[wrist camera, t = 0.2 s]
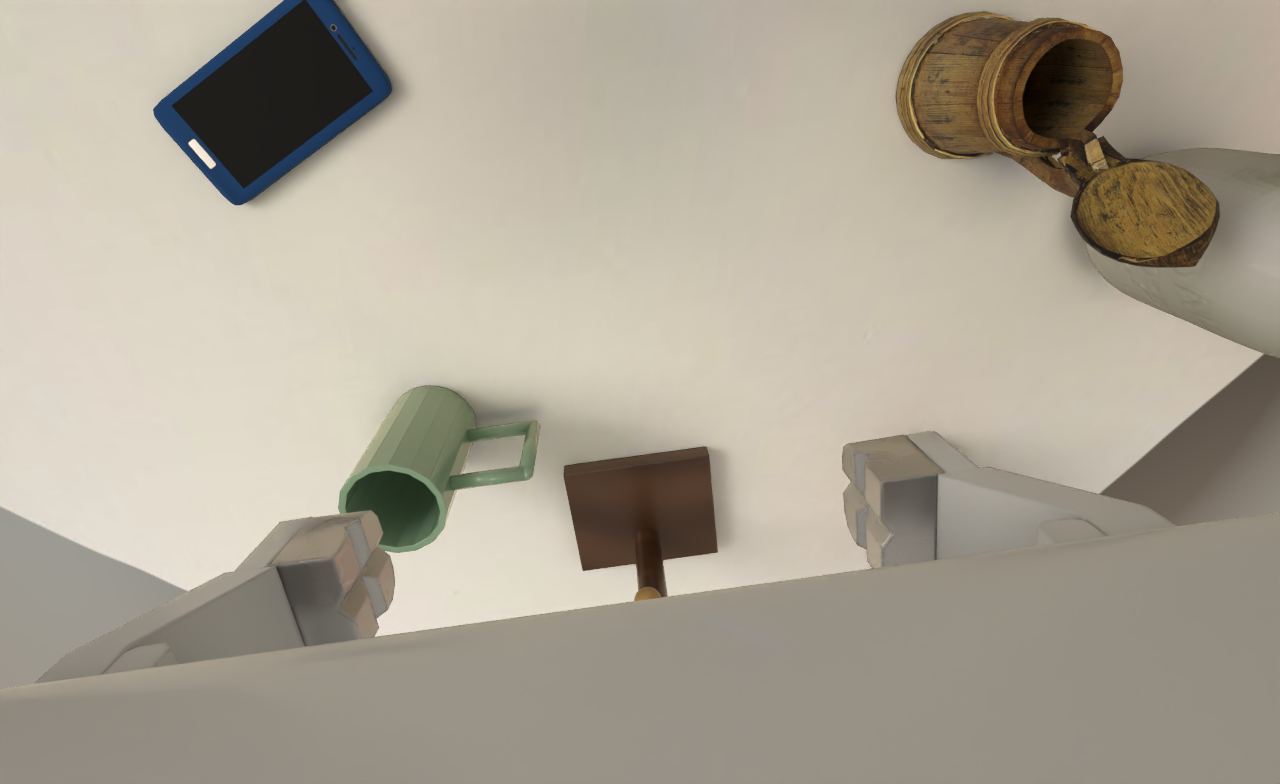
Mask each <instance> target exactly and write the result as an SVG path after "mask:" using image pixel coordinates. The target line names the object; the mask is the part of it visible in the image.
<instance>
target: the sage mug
mask: <svg viewBox="0 0 1280 784" xmlns="http://www.w3.org/2000/svg"><path fill="white" fill-rule="evenodd" d="M540 428H541V426H540V423H539V422H538V421H526V422H519V423H511V424H504V425H497V426H489V427H482V428H476V419H475V416H474V413H473V411H472V409H471V408H470V406H469V405H468V403H467V402H466V401H465V400H464V399H463V398H462V397H461V396H459V395H458V394H456V393H454V392H453V391H451V390H448V389H446V388H442V387H437V386H422V387H417V388H414V389H412V390H410V391H408V392H406V393H405V394H403V395H402V396H401V397H400V398H399V399H398V400H397V402H396V403H395V405H394V406H393V408H392V409H391V411H390V412H389V414H388V415H387V417H386V419H385V420H384V422H383V423H382V425H381V427H380V428H379V430H378V431H377V433H376V435H375V436H374V438H373V439H372V441H371V443H370V444H369V446H368V447H367V449H366V451H365V452H364V454H363V455H362V457H361V458H360V460H359V462H358V463H357V465H356V466H355V468H354V470H353V471H352V473H351V474H350V476H349V478H348V479H347V481H346V482H345V484H344V486H343V487H342V489H341V490H340V496H339V505H338V509H339V512H340V514H345V513H353V512H361V511H370V510H371V511H372V512H373V513H375V514H376V515H377V516H378V519H379V522H380V525H381V528H382V531H383V535H382V537H381V539H380V542H379V544H378V546H379V547H380V548H381V549H382V550H383V551H389V552H395V553H400V552H407V551H415V550H418V549H420V548H422V547H424V546H426V545H428V544H430V543H431V542H433V541H434V540H435V539H436V538H437V536H438V535H439V534H440V533H441V531H442V530H443V529H444V527H445V524H446V521H447V518H448V515H449V512H450V509H451V506H452V503H453V500H454V498H455V495H456V492H457V490H459V489H466V488H474V487H481V486H488V485H496V484H503V483H510V482H518V481H525V480H529V479H530V478H531V477H532V476H533V471H534V465H535V458H536V452H537V446H538V440H539V434H540ZM520 435H525V440H524V445H523V450H522V455H521V460H520V465H519V466H517V467H510V468H503V469H495V470H488V471H481V472H473V473H466V474H463V471H464V468H465V465H466V462H467V460H468V457H469V454H470V451H471V448H472V445H473V442H476V441H484V440H491V439H498V438H506V437H513V436H520Z"/></svg>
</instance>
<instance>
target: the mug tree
mask: <svg viewBox="0 0 1280 784" xmlns="http://www.w3.org/2000/svg"><path fill="white" fill-rule="evenodd" d="M564 480H565V485H566V490H567V495H568V500H569V505H570V510H571V515H572V520H573V525H574V530H575V535H576V540H577V544H578V549H579V554H580V559H581V564H582V569H583V571H586V570H593V569H600V568H608V567H615V566H622V565H630V564H636V568H637V580H638V592H637V593H636V595H635V599H634V601H641V600H648V599H655V598H662V597H668V596H667V588H666V581H665V574H664V566H663V560H666V559H673V558H681V557H688V556H695V555H703V554H710V553H717V552H718V550H717V539H716V528H715V517H714V507H713V496H712V485H711V474H710V463H709V455H708V451H707V448H706V447H700V448H693V449H685V450H678V451H671V452H663V453H656V454H649V455H641V456H634V457H627V458H619V459H612V460H605V461H597V462H590V463H583V464H575V465H568V466H564Z"/></svg>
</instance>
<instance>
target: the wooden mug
mask: <svg viewBox="0 0 1280 784" xmlns="http://www.w3.org/2000/svg"><path fill="white" fill-rule="evenodd" d="M1122 81H1123V68H1122V63H1121V58H1120V53H1119V51H1118V49H1117V47H1116V46H1115V44H1114V42H1113V41H1112V39H1111V37H1109V36H1108V35H1106V34H1104V33H1102V32H1100V31H1096V30H1094V29H1092V28H1091V27H1089V26H1087V25H1086V24H1081V23H1076V22H1072V21H1067V20H1064V19H1060V18H1038V19H1036V20H1033V21H1031V22H1022V21H1015V20H1013V19H1012V18H1009V17H1004V16H1000V15H996V14H992V13H989V12H985V11H984V12H973V13H965V14H962V15H958V16H955V17H952V18H949V19H947V20H946V21H944V22H942V23H941V24H939V25H937V26H936V27H934V28H932V29H931V30H930V31H929V32H928V33H927V34H926V35H925V36H924V37H923V38H922V39H921V40H920V41H919V42H918V43H917V45H916V46H915V48H914V49H913V51H912V52H911V54H910V55H909V56H908V58H907V59H906V62H905V64H904V67H903V70H902V72H901V75H900V77H899V81H898V88H897V94H896V101H897V108H898V115H899V117H900V119H901V122H902V124H903V127H904V129H905V131H906V132H907V134H908V135H909V137H910V138H911V139H912V141H913V142H914V143H915V144H917V145H918V146H919V147H920V148H921V149H922V150H923V151H925V152H926V153H929V154H931V155H934V156H936V157H939V158H941V159H968V158H976V157H981V156H986V155H989V154H991V153H993V152H996V153H998V154H1001V155H1004V156H1007V157H1010V158H1012V159H1013V160H1015V161H1016V162H1018V163H1019V164H1021V165H1022V166H1024V167H1025V168H1026V169H1027V170H1029V171H1030V172H1031V173H1033V174H1034V175H1035V176H1036V177H1038V178H1039V179H1040V180H1042V181H1043V182H1045V183H1046V184H1048V185H1049V186H1050V187H1052V188H1053V189H1055V190H1057V191H1059V192H1061V193H1063V194H1066V195H1068V196H1070V197H1074V199H1073V205H1072V211H1071V219H1072V221H1073V223H1074V225H1075V227H1076V229H1077V231H1078V232H1079V234H1080V235H1081V237H1082V238H1083V240H1084V241H1086V242H1087V243H1088V244H1089V245H1090V246H1091V247H1092V248H1093V249H1095V250H1096V251H1098V252H1099V253H1100V254H1102V255H1104V256H1106V257H1108V258H1111V259H1113V260H1115V261H1117V262H1121V263H1125V264H1130V265H1134V266H1140V267H1151V268H1177V267H1185V268H1189V267H1194V266H1196V265H1197V263H1198V262H1199V260H1200V259H1201V257H1202V256H1203V254H1204V253H1205V251H1206V250H1207V248H1208V246H1209V244H1210V242H1211V240H1212V238H1213V235H1214V233H1215V231H1216V228H1217V225H1218V221H1219V218H1220V208H1219V202H1218V201H1217V199H1216V198H1215V196H1214V195H1213V193H1212V192H1211V190H1210V189H1209V187H1208V186H1207V185H1205V184H1204V183H1203V182H1202V181H1200V180H1199V179H1198V178H1197V177H1196V176H1194V175H1193V174H1191V173H1190V172H1188V171H1187V170H1185V169H1183V168H1180V167H1177V166H1174V165H1172V164H1169V163H1165V162H1159V161H1153V160H1142V159H1126V158H1125V157H1123V156H1122V155H1121V154H1120V153H1119V152H1117V151H1116V150H1115V149H1114V148H1113V147H1112V146H1111V145H1110V144H1109V143H1108V141H1107V140H1106V139H1105V138H1104V136H1102V137H1100V138H1097V136H1096V135H1095V134H1094V133H1092V132H1093V131H1094V130H1095V129H1096V128H1097V127H1098V126H1099V124H1100V123H1101V122H1102V121H1103V120H1104V119H1105V117H1106V116H1107V115H1108V114H1109V112H1110V111H1111V110H1112V108H1113V106H1114V105H1115V103H1116V101H1117V99H1118V98H1119V95H1120V90H1121V86H1122ZM1059 152H1060V153H1061V156H1060V157H1059V158H1058V159H1057V160H1058V162H1059V163H1060V164H1059V163H1058V162H1057V161H1056V160H1055V159H1054V158H1052V156H1051V155H1057V154H1058V153H1059Z"/></svg>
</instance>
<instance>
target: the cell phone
mask: <svg viewBox="0 0 1280 784" xmlns="http://www.w3.org/2000/svg"><path fill="white" fill-rule="evenodd" d="M391 90H392V87H391V83H390V81H389V79H388V77H387V75H386V74H385V72H384V71H383V70H382V68H381V67H380V66H379V64H378V63H377V61H376V60H375V59H374V57H373V56H372V54H371V53H370V52H369V50H368V49H367V48H366V46H365V45H364V43H363V42H362V41H361V39H360V38H359V36H358V35H357V34H356V32H355V31H354V30H353V28H352V27H351V25H350V24H349V23H348V21H347V20H346V18H345V17H344V16H343V14H342V13H341V12H340V10H339V9H338V7H337V6H336V5H335V3H334V2H333V0H284V1H283V2H282V3H280V4H279V5H278V6H277V7H275V8H274V9H273V10H272V11H271V12H269V13H268V14H267V15H266V16H264V17H263V18H262V19H261V20H259V21H258V22H257V23H256V24H255V25H253V26H252V27H251V28H250V29H248V30H247V31H246V32H245V33H243V34H242V35H241V36H240V37H239V38H237V39H236V40H235V41H234V42H232V43H231V44H230V45H229V46H227V47H226V48H225V49H224V50H223V51H221V52H220V53H219V54H218V55H216V56H215V57H214V58H213V59H211V60H210V61H209V62H208V63H207V64H205V65H204V66H203V67H202V68H200V69H199V70H198V71H197V72H195V73H194V74H193V75H192V76H191V77H189V78H188V79H187V80H186V81H184V82H183V83H182V84H181V85H180V86H178V87H177V88H176V89H175V90H173V91H172V92H171V93H170V94H168V95H167V96H166V97H165V98H164V99H162V100H161V101H160V102H159V103H158V104H157V106H156V107H155V108H154V109H153V110H154V116H155V118H156V119H157V120H158V122H159V123H160V125H161V126H162V127H163V128H164V130H165V131H166V132H167V133H168V134H169V135H170V136H171V137H172V139H173V140H174V141H175V142H176V143H177V144H178V145H179V146H180V148H181V149H182V150H183V151H184V152H185V153H186V154H187V155H188V157H189V158H190V159H191V160H192V161H193V162H194V163H195V164H196V166H197V167H198V168H199V169H200V170H201V171H202V172H203V173H204V175H205V176H206V177H207V178H208V179H209V180H210V181H211V182H212V184H213V185H214V186H215V187H216V188H217V189H218V190H219V191H220V193H221V194H222V195H223V196H224V197H225V198H226V199H228V200H229V201H230V202H231V203H232V204H234V205H242V204H244V203H246V202H248V201H250V200H251V199H253V198H254V197H256V196H257V195H258V194H260V193H261V192H262V191H264V190H265V189H266V188H268V187H269V186H270V185H272V184H273V183H274V182H276V181H277V180H278V179H280V178H281V177H282V176H284V175H285V174H286V173H288V172H289V171H290V170H292V169H293V168H294V167H296V166H297V165H298V164H300V163H301V162H302V161H304V160H305V159H306V158H308V157H309V156H310V155H312V154H313V153H314V152H316V151H317V150H318V149H320V148H321V147H322V146H324V145H325V144H326V143H328V142H329V141H330V140H332V139H333V138H334V137H336V136H337V135H338V134H340V133H341V132H342V131H344V130H345V129H346V128H348V127H349V126H350V125H352V124H353V123H354V122H356V121H357V120H358V119H360V118H361V117H362V116H364V115H365V114H366V113H368V112H369V111H370V110H372V109H373V108H374V107H375V106H377V105H378V104H379V103H380V102H382V101H383V100H384V99H385V98H387V97H388V95H389V94H390V93H391Z"/></svg>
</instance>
